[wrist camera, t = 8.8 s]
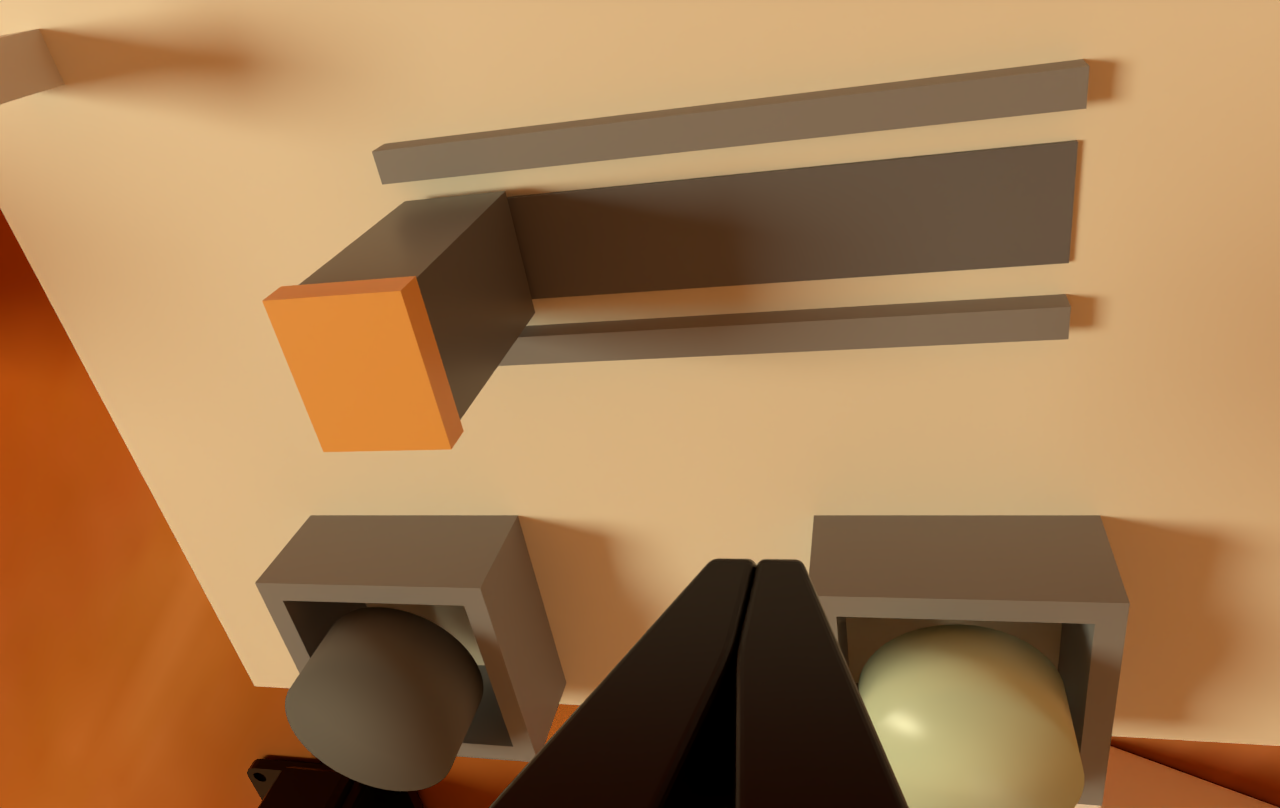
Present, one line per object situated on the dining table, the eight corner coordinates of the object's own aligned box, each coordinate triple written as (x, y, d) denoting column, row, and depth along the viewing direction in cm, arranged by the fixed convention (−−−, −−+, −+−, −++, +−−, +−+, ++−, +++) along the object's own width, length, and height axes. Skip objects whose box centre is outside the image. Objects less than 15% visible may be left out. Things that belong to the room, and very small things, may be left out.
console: (1248, 642, 22) (1423, 1015, 15) (308, 612, 29) (130, 857, 22) (1480, -364, 12) (2235, -610, 6) (-1, -52, 19) (-483, 12, 12)
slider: (541, 317, 17) (451, 450, 14) (436, 323, 18) (322, 451, 14) (509, 184, 16) (400, 290, 12) (398, 196, 17) (261, 301, 13)
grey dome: (501, 730, 21) (473, 797, 20) (357, 720, 22) (320, 784, 21) (458, 608, 19) (423, 673, 18) (303, 604, 20) (258, 665, 19)
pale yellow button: (1059, 767, 18) (1076, 851, 17) (862, 754, 19) (861, 832, 18) (1072, 628, 16) (1093, 708, 15) (853, 620, 17) (852, 696, 16)
